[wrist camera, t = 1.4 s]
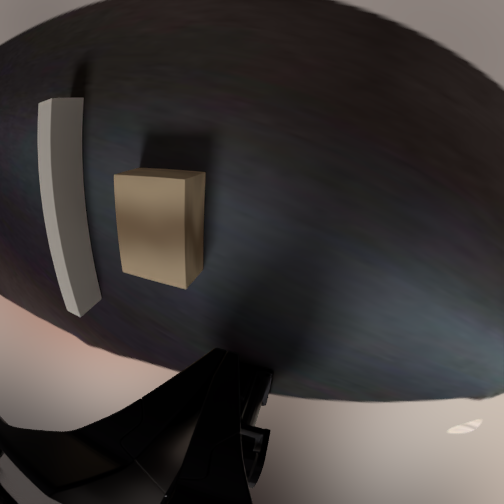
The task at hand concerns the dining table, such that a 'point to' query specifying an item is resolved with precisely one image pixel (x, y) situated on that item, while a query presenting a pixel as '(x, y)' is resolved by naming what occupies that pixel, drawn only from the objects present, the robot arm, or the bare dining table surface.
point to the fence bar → (66, 201)
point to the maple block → (161, 224)
